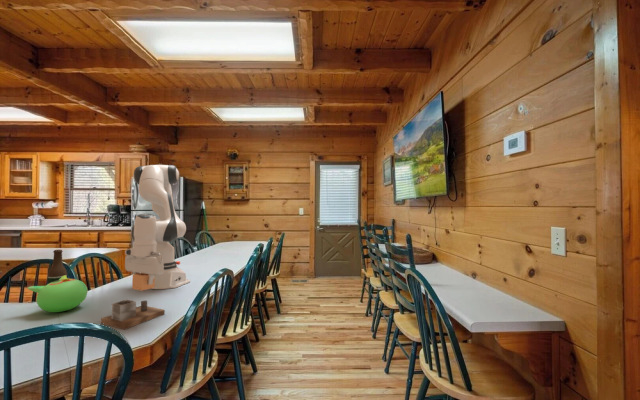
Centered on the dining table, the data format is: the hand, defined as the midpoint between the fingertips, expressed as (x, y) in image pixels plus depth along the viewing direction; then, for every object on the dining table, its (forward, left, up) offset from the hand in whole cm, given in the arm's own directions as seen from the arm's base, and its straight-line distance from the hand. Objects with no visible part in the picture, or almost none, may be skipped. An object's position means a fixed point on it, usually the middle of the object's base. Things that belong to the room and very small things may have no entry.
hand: (143, 283), depth 134 cm
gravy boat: (+11, -38, -14) cm, 42 cm away
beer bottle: (+1, -62, -14) cm, 64 cm away
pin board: (+4, 0, -14) cm, 15 cm away
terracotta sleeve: (0, 0, -2) cm, 2 cm away
